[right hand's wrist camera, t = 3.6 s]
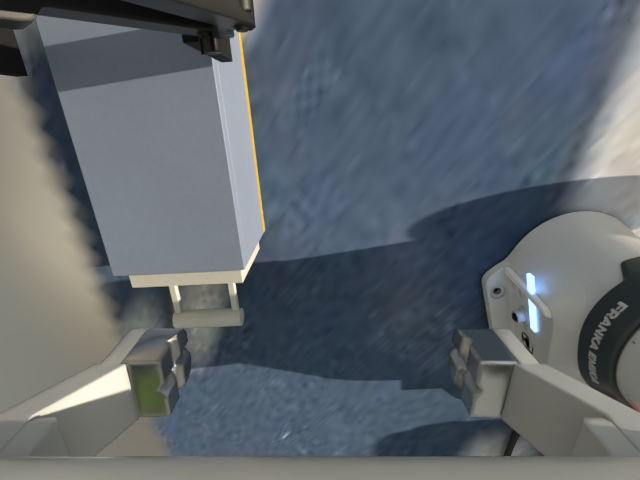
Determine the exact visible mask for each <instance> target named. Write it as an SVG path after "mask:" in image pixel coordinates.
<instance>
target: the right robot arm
mask: <svg viewBox="0 0 640 480" xmlns="http://www.w3.org/2000/svg"><path fill="white" fill-rule="evenodd" d="M482 288H483V294H484V300H485V306H486V313H487V319H488V325H489V329H455V331H454V333H453V338H452V341H453V343H454V345H455V348H454V349H453V350H452V351H451V352H450V357H449V370H450V375H451V378H452V380H453V383H454V385H455V386H457V387H458V388H459V389H461V390H462V392H461V399H462V401H463V403H464V405H465V407H466V409H467V411H468V413H469V415H470V416H476V417H501V419H502V420H503V421H504V422H505V423H507V424H508V425H509V426H510V427H511V428H512V429H514V432H513V434H512V436H511V438H510V440H509V443H508V445H507V448H506V450H505V454H504V456H96V455H97V454H98V453H100V452H101V451H102V450H103V449H104V448H105V447H107V446H108V445H109V444H110V443H111V442H112V441H114V440H115V439H116V438H117V437H118V436H120V435H121V434H122V433H123V432H124V431H125V430H126V429H128V428H129V427H130V426H131V425H132V424H134V423H135V422H136V421H137V420H138V419H139V417H163V416H170V415H171V413H172V411H173V409H174V407H175V405H176V403H177V401H178V399H179V392H178V390H179V389H181V388H182V387H183V386H185V385H186V382H187V380H188V378H189V374H190V370H191V356H190V352H189V351H188V350H187V349H186V348H185V345H186V343H187V341H188V338H187V333H186V331H185V330H184V329H170V328H134V329H131V330H130V331H129V332H128V333H127V334H126V335H125V336H124V337H123V339H122V340H121V341H120V342H119V343H118V344H117V345H116V347H115V348H114V349H113V350H112V351H111V352H110V354H109V355H108V356H107V357H106V358H105V359H104V360H103V362H102V363H101V364H94V365H92V366H90V367H88V368H86V369H84V370H82V371H80V372H79V373H77V374H75V375H73V376H71V377H69V378H67V379H65V380H63V381H61V382H59V383H57V384H55V385H53V386H51V387H49V388H47V389H45V390H44V391H42V392H40V393H38V394H36V395H34V396H32V397H30V398H28V399H26V400H24V401H22V402H20V403H18V404H16V405H15V406H13V407H11V408H9V409H7V410H5V411H3V412H1V413H0V480H640V237H638V236H637V235H636V234H634V233H633V232H632V231H631V230H630V229H629V228H628V227H627V226H626V225H625V224H624V223H622V222H621V221H620V220H618V219H617V218H615V217H613V216H610V215H608V214H605V213H601V212H595V211H578V212H572V213H567V214H563V215H560V216H557V217H555V218H552V219H550V220H548V221H546V222H544V223H542V224H541V225H539V226H537V227H536V228H535V229H533V230H532V231H531V232H529V233H528V234H527V235H526V236H525V237H524V238H523V239H522V240H521V241H520V242H519V243H518V244H517V245H516V247H515V248H514V249H513V251H512V252H511V253H510V254H509V255H508V257H507V258H506V259H505V260H503V261H502V262H500V263H498V264H497V265H495V266H494V267H492V268H491V269H489V270H488V271H487V272H486V273H485V274H484V275H483V277H482ZM495 288H498V289H497V290H496V291H494V289H495ZM493 291H494V292H493ZM520 435H521V436H522V437H523V438H524V439H525V440H526V441H528V442H529V443H530V444H531V445H532V446H533V447H535V448H536V449H537V450H538V451H539V452H540V453H542V454H543V455H544V456H511V453H512V451H513V448H514V446H515V444H516V442H517V440H518V438H519V436H520Z"/></svg>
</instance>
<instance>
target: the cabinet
mask: <svg viewBox="0 0 640 480" xmlns="http://www.w3.org/2000/svg"><path fill="white" fill-rule="evenodd" d="M35 20H36V23H37V26H38V30H39V33H40V36H41V40H42V43H43V46H44V49H45V53H46V56H47V59H48V63H49V66H50V69H51V72H52V76H53V79H54V82H55V86H56V89H57V92H58V95H59V99H60V102H61V105H62V109H63V112H64V115H65V119H66V122H67V125H68V128H69V132H70V135H71V138H72V142H73V145H74V148H75V151H76V155H77V158H78V161H79V165H80V168H81V171H82V174H83V178H84V181H85V184H86V188H87V191H88V194H89V198H90V201H91V204H92V207H93V211H94V214H95V217H96V221H97V224H98V227H99V230H100V234H101V237H102V240H103V244H104V247H105V250H106V253H107V257H108V260H109V263H110V267H111V270H112V273H113V276H123V275H144V274H165V273H187V272H208V271H229V270H244V269H245V267H246V266H247V264H248V262H249V260H250V258H251V256H252V254H253V252H254V250H255V248H256V246H257V244H258V242H259V240H260V238H261V237H262V235H263V233H264V231H265V226H264V218H263V210H262V202H261V194H260V186H259V178H258V170H257V162H256V154H255V146H254V137H253V129H252V121H251V113H250V105H249V97H248V89H247V81H246V73H245V65H244V57H243V49H242V40H241V32H236V30H234V37H233V38H230V45H231V53H232V60H233V62H219V61H217V60H215V59H213V58H212V57H210V56H208V55H201V52H200V51H198V50H196V49H194V48H192V47H190V46H188V45H186V44H184V43H183V40H182V35H181V34H176V33H169V32H161V31H153V30H146V29H138V28H131V27H123V26H115V25H108V24H100V23H93V22H85V21H78V20H70V19H62V18H55V17H47V16H40V15H38V16H37V17H36V19H35Z"/></svg>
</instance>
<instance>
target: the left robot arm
mask: <svg viewBox="0 0 640 480" xmlns="http://www.w3.org/2000/svg"><path fill="white" fill-rule="evenodd" d="M38 15H40V16H47V17H55V18H62V19H70V20H78V21H85V22H93V23H100V24H108V25H115V26H123V27H131V28H138V29H146V30H153V31H161V32H169V33H176V34H181V35H182V40H183V43H184V44H186V45H188V46H190V47H192V48H194V49H196V50H198V51H200V52H201V55H208V56H210V57H212V58H213V59H215V60H217V61H219V62H233V60H232V53H231V45H230V38H233V37H234V30H236V32H247V31H248V30H249V31H250V30H253V29H254V28H255V18H254V7H253V0H0V75H8V76H16V77H18V76H28V75H27V72H26V69H25V66H24V63H23V59H22V56H21V53H20V50H19V47H18V44H17V41H16V38H15V34H14V31H13V29H24V28H25V27H27V26H28V25H29V24H30V23H31V22H32V21H33V20H34V19H36V17H37V16H38Z"/></svg>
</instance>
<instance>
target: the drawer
mask: <svg viewBox="0 0 640 480" xmlns="http://www.w3.org/2000/svg"><path fill="white" fill-rule="evenodd" d="M258 251H259V242H258V244H257V246H256V248H255V250H254V252H253V254H252V256H251V258H250V260H249V262H248V264H247V266H246V267H245V269H244V270H229V271H208V272H187V273H165V274H144V275H129V278H130V281H131V285H132V288H138V287H159V286H169V290H170V294H171V298H172V302H173V306H174V310H175V312H174V314H173V319H172V322H173V326H174V328H199V327H224V326H242V325H243V322H244V311H243V308H239V303H238V297H237V291H236V285H235V283H243V281H244V279H245V277H246V275H247V273H248V271H249V269H250V267H251V265H252V263H253V261H254V259H255V257H256V255H257V253H258ZM225 283H227V284H228V289H229V295H230V301H231V307H232V308H224V309H201V310H183V307H182V303H181V298H180V294H179V290H178V286H181V285H203V284H225Z"/></svg>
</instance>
